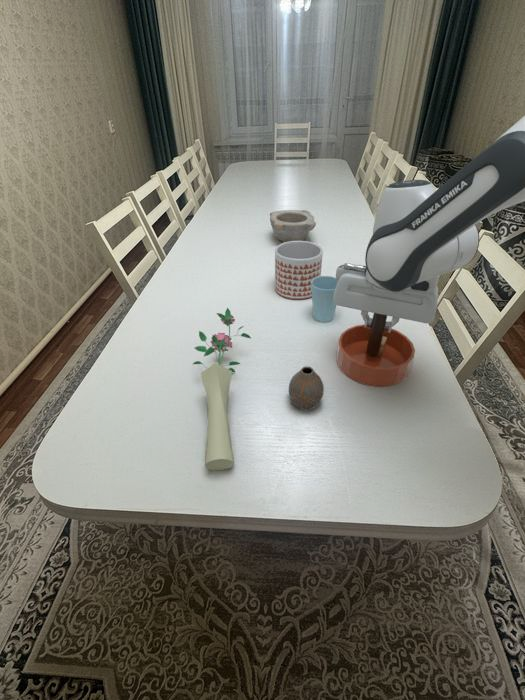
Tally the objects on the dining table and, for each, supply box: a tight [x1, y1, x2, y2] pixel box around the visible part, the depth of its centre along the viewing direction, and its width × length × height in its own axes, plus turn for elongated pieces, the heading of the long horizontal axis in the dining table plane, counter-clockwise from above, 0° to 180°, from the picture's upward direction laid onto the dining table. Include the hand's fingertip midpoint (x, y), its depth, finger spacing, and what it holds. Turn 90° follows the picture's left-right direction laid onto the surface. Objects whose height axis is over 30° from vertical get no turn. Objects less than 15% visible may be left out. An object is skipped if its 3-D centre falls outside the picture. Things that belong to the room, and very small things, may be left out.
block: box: [378, 336, 387, 357], centre depth 84 cm, size 4×4×4 cm
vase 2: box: [274, 240, 324, 300], centre depth 106 cm, size 14×14×13 cm
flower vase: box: [192, 307, 252, 471], centre depth 72 cm, size 12×12×35 cm
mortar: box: [269, 209, 317, 243], centre depth 139 cm, size 17×17×9 cm
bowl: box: [336, 324, 416, 387], centre depth 81 cm, size 16×16×5 cm
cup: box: [311, 275, 338, 323], centre depth 95 cm, size 8×8×10 cm
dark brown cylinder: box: [366, 313, 388, 357], centre depth 78 cm, size 3×3×13 cm
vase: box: [288, 365, 325, 411], centre depth 71 cm, size 7×7×9 cm
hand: (377, 328), depth 78 cm, fingers closed on dark brown cylinder, 3 cm apart
